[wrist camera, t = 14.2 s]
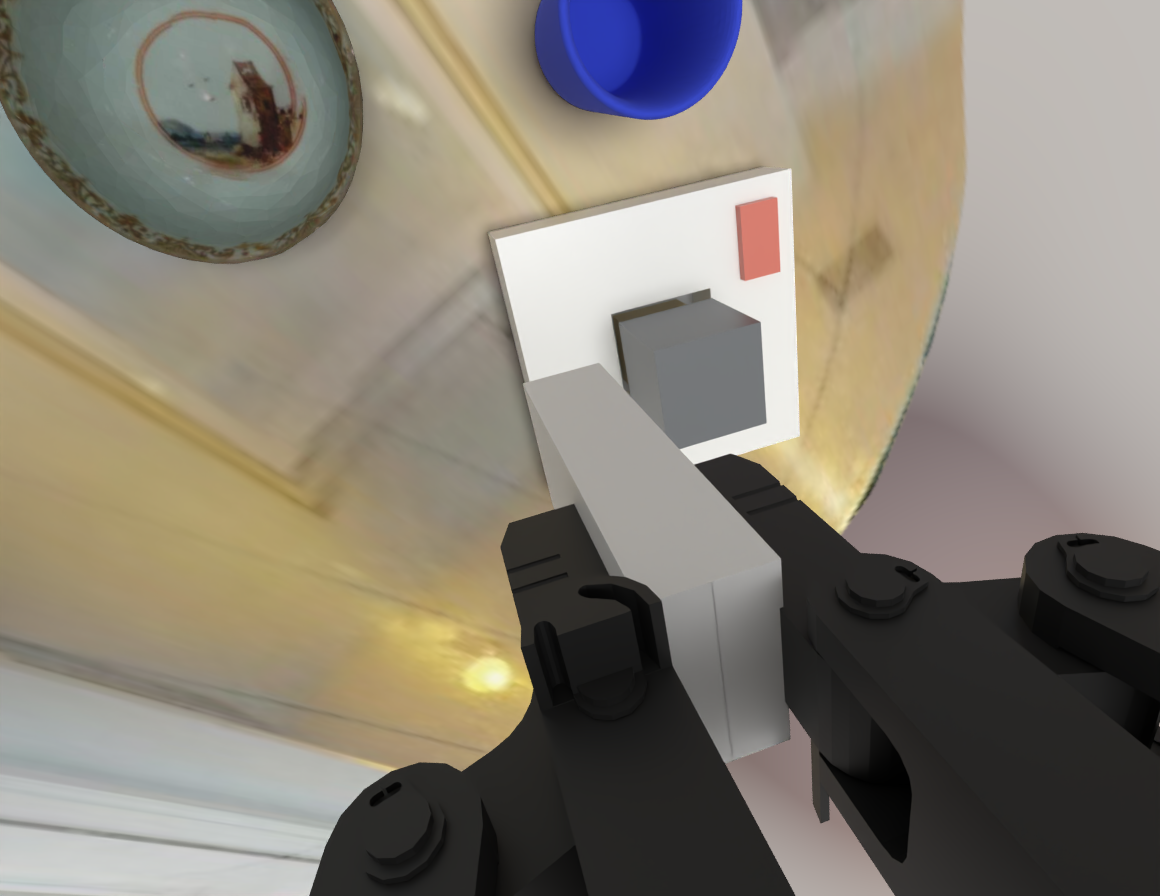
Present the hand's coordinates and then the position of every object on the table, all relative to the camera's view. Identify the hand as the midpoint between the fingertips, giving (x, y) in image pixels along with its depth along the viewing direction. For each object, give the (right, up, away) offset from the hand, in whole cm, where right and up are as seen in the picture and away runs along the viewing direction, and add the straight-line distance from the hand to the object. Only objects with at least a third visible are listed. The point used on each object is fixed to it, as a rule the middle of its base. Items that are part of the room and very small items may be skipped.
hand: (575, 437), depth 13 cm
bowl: (-18, +18, +21) cm, 32 cm away
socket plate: (+5, +7, +31) cm, 33 cm away
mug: (+2, +23, +24) cm, 33 cm away
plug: (+5, +7, +31) cm, 32 cm away
